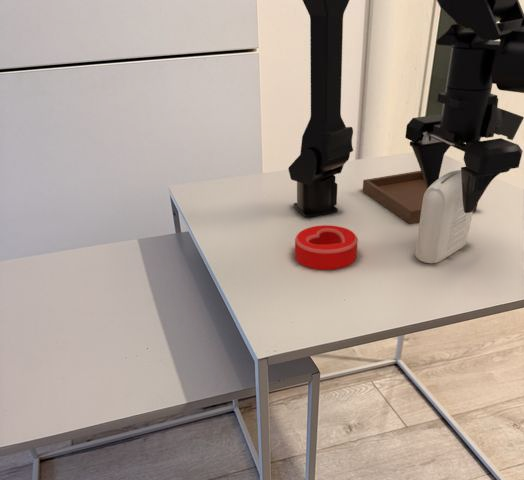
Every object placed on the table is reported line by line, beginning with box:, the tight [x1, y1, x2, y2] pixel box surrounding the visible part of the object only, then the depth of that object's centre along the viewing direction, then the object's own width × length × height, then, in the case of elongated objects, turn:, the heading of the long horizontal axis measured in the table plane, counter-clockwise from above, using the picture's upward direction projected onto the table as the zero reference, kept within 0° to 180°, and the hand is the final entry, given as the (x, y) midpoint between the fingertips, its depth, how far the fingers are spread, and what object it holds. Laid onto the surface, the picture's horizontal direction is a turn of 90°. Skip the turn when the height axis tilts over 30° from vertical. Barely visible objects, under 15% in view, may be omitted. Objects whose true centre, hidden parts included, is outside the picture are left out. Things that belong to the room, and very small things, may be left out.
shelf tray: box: [362, 170, 479, 225], centre depth 101 cm, size 14×18×2 cm
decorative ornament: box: [294, 224, 359, 271], centre depth 84 cm, size 10×10×3 cm
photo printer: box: [414, 169, 474, 264], centre depth 81 cm, size 10×4×12 cm, turn 134°
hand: (448, 201), depth 79 cm, fingers open, 9 cm apart
